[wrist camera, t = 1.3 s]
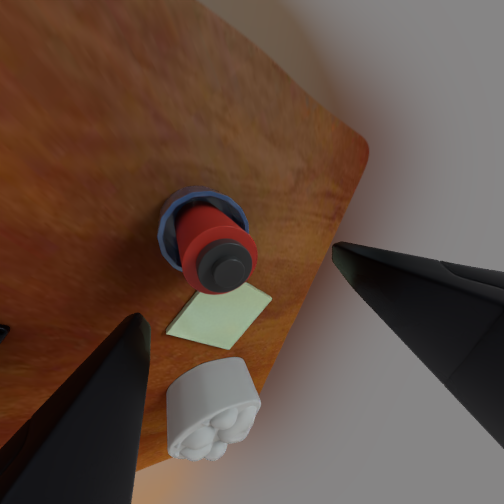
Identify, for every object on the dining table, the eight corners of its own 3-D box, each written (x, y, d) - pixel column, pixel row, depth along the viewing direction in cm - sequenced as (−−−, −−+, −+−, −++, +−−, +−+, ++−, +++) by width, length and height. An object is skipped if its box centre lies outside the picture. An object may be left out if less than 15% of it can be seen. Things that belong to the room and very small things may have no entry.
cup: (206, 267, 23) (215, 288, 19) (141, 232, 18) (136, 250, 14) (246, 217, 22) (263, 228, 18) (190, 167, 18) (198, 169, 14)
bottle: (205, 255, 21) (233, 318, 13) (163, 230, 18) (164, 290, 10) (232, 220, 21) (281, 261, 12) (194, 189, 18) (224, 214, 9)
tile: (227, 346, 30) (229, 350, 30) (165, 329, 24) (165, 334, 23) (270, 295, 29) (272, 298, 29) (217, 265, 23) (219, 268, 23)
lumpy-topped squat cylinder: (235, 390, 37) (253, 446, 29) (163, 413, 31) (164, 489, 23) (247, 353, 33) (270, 405, 26) (169, 370, 27) (172, 444, 20)
